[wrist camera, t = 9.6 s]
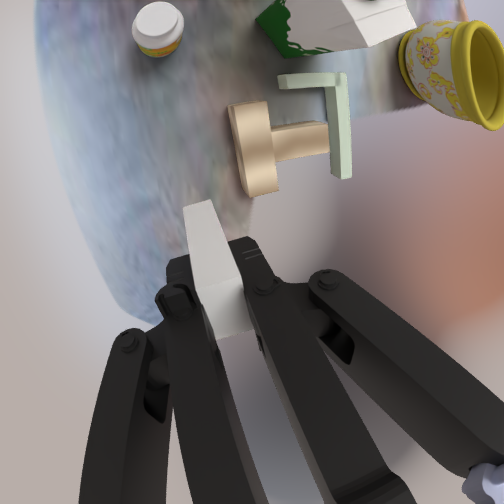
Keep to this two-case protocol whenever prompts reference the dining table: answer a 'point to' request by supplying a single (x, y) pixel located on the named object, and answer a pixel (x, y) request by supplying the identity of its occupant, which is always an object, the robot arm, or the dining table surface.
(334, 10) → the milk carton
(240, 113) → the t block
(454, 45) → the flowerpot
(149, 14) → the supplement bottle
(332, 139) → the corner stop
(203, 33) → the dining table surface
